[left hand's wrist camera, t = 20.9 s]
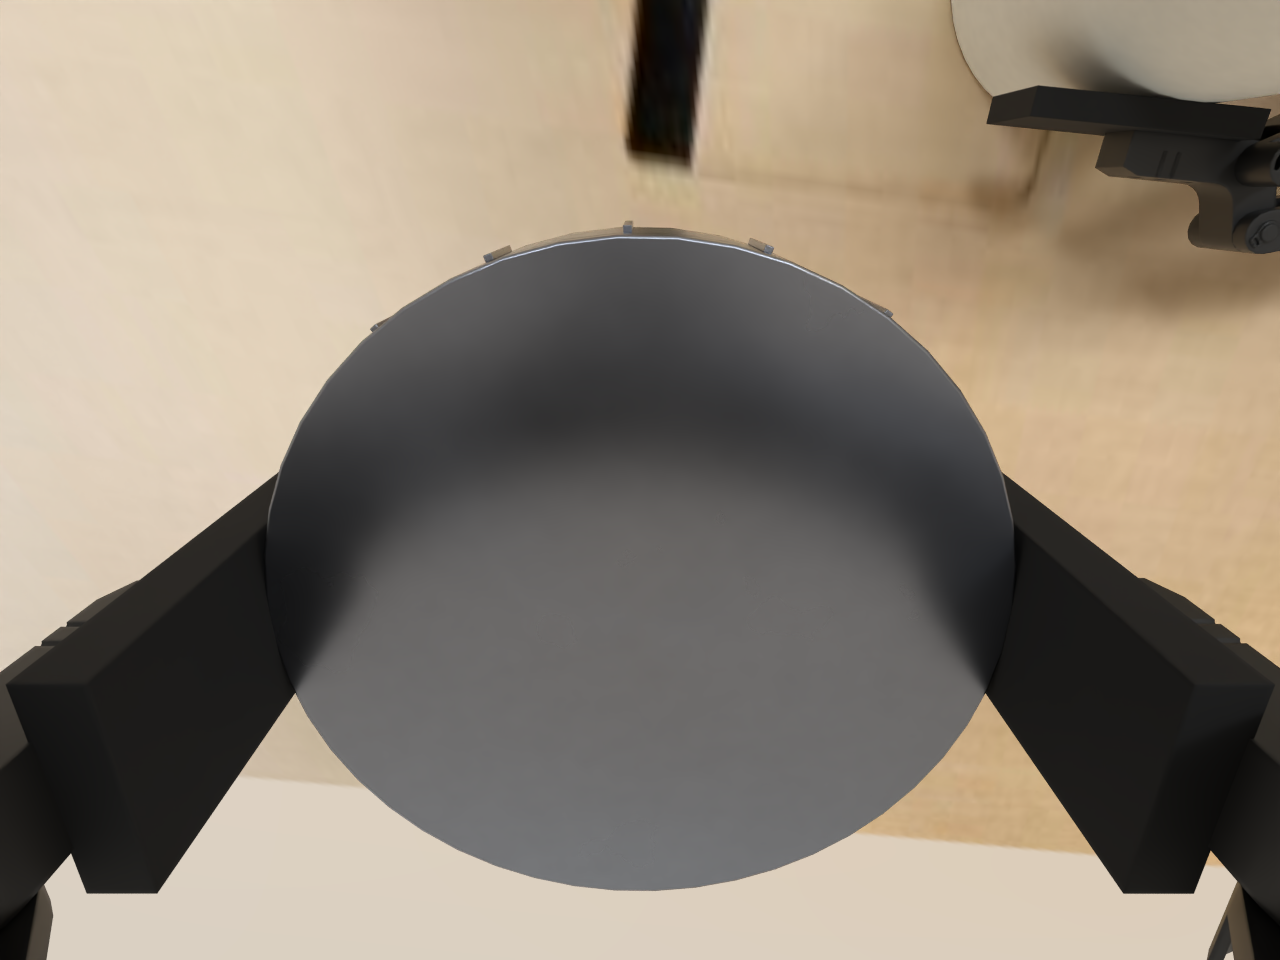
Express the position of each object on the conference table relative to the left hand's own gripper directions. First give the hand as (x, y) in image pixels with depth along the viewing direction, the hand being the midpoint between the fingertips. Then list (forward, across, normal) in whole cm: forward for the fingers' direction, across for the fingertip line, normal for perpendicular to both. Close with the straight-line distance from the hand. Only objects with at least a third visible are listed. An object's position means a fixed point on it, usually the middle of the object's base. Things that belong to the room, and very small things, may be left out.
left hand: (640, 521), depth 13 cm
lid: (-3, 0, 0) cm, 3 cm away
